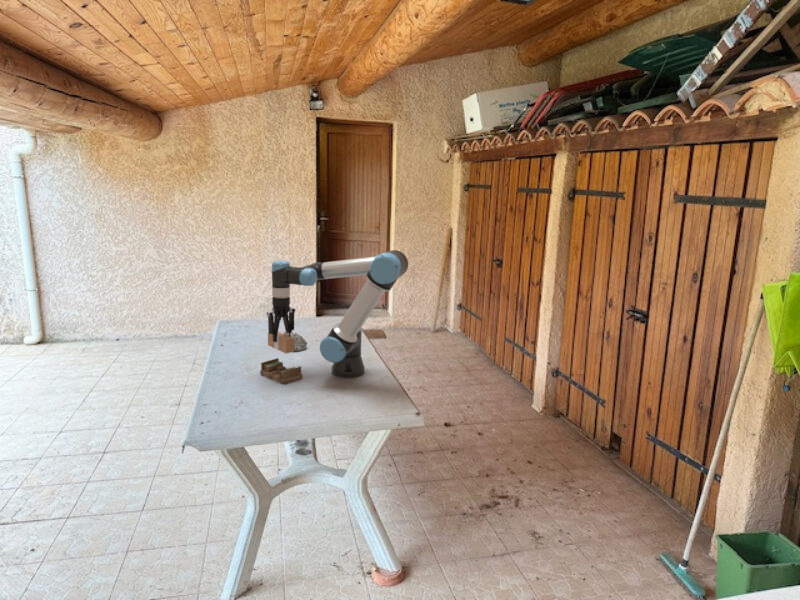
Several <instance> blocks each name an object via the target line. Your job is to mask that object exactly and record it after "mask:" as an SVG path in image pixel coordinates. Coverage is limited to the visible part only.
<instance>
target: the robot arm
mask: <svg viewBox="0 0 800 600" xmlns="http://www.w3.org/2000/svg"><path fill="white" fill-rule="evenodd" d="M290 264H291V263H290V262H289V261H288V260H275V261H273V262H272V263H271V284H272V285H271V288H272V289H271V293H272V298H271V300H272V302H271V303H272V309H271V311H267V312H266V315H267V320H268V321H267V325H268V326H267V329H268V333H269V334H272V335H273V342H274V348H273V349H275V350H277V349H279V335H278V332H279V328H280V323H281V321H283V324H284V330H285V331H284V332H283V334H285V335H288V336H290V333H291V332H293V331H294V330H295V313H296V309H295V308H294V307H291V306H290V305H291V297H290V295H291V285H296V286H297V285H298V286H304V287H307V286H308V287H313V286H314V285H315V284H316V283H317V281H320V280H321V281H323V280H329V279H338V278H339V279H340V278H347V277H359V276H366V281H365V283H364V285H363V286H362V288H361V289H360V291H359V293H358V294H357V296H356V297H355V299H354V300H353V302H352V304H351V305H350V306H349V308H348V310H347V312H346V313H345V315H344V316H343V318H342V319H341V321H340V322H339V323H338V322H337V323H336V324H333V325H334V326H333V327H332V328H331V330H330V331H329V333H328V334H327V336H326V337H324V338H323V339H322V340H321V342H320V344H319V352H320V354H321V356H322V357H323V359H325V360H326V361H327V362H329V363H333V364H332V366H331V373H332V375H334V376H336V377H338V378H339V377H340V378H347V379H348V378H357V377H360V376H362V375H364V374H365V371H366V369H365V365H364V361H363V358H362V333H363V332H362V327H363V326H364V324H365V323H366V321H367V320H368V318H369V317H370V315H371V313H372V312H373V310H374V309H375V307H376V306H377V304H378V303H379V301H380V300H381V298H382V296H383V295H384V294H385V292H389V291H391V290H392V288H393V287H394V285H395V283H396V282H397V280H398V279H399V278H401V277H402V276H404V274H405V273H406V272H407V270H408V267H409V260H408V258H407V256H406V254H405V253H403V252H402V251H399V250H395V249H393V250H388V251H385V252H382V253H377V254H376V256H374V255H373V256H367V257H359V258H357V257H356V258H349V259H342V260H333V261H326V262H313V263H311V264H308V265H304V266H301V267H299V266H291V265H290Z"/></svg>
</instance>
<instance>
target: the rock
mask: <svg viewBox="0 0 800 600" xmlns="http://www.w3.org/2000/svg"><path fill="white" fill-rule="evenodd" d="M290 337H292V338H295V351H294V352H299V351H305V350H307V345H308V342H307V341H306V339H304V337H303V336H302V335H300V334H298V333H297V332H295V333H294V332H293V331H292V332H291V333H290Z"/></svg>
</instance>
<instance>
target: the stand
mask: <svg viewBox="0 0 800 600" xmlns="http://www.w3.org/2000/svg"><path fill="white" fill-rule="evenodd" d="M279 360H280V359H279V357H278V358H274V359H269V360H266V361H262V362H260V364H261V365H260V367H261V368H260V369H261V370H260V371H259V372H260V376H263V377H265V378H268V379H270V380H273V381H275V382H277V383H279V384H281V385H284V386H285V385H288V384H290V383H293V382H296V381H300V380H303V373H302V366H297V367H295V366H292V367H289V368H288V367H286V366H284V364H283V363H284V362H283V361H279Z"/></svg>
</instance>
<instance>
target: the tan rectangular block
mask: <svg viewBox="0 0 800 600" xmlns="http://www.w3.org/2000/svg"><path fill="white" fill-rule="evenodd" d="M278 335H279V349H276V350H277V351H278V352H279V351H280V352H282V353H284V354H289V353H294V352H296V351H295V338H292V337H290V336H288V335H285V334H284V332H280V331H278ZM267 346H269V347H271V348H272V349H275V348H274V342H273V335H272V334H269V332H267Z"/></svg>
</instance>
